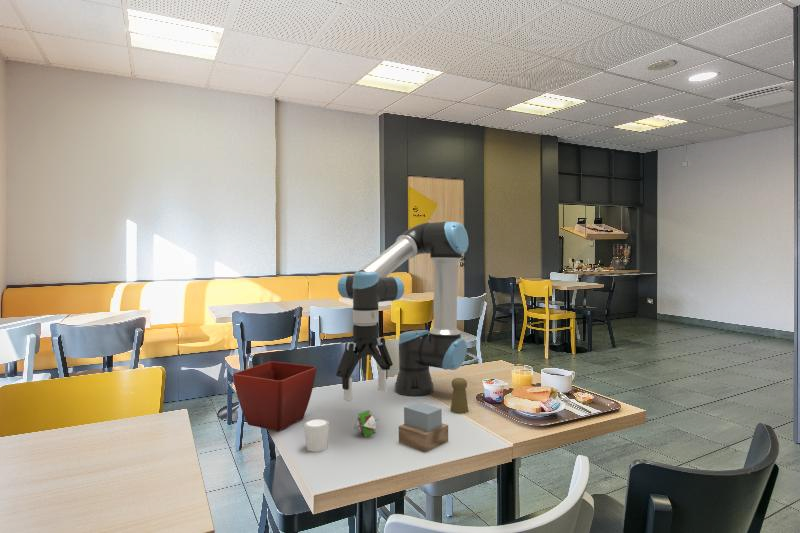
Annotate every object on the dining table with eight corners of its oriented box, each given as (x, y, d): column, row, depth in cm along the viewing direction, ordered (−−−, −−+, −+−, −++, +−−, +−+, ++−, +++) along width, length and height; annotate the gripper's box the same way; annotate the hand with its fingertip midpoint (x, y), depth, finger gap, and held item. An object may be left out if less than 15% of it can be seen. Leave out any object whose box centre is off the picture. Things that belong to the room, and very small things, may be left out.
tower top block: (417, 418, 142) (417, 401, 142) (441, 426, 136) (441, 408, 136) (404, 424, 138) (403, 407, 138) (428, 432, 132) (427, 414, 132)
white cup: (302, 444, 136) (302, 420, 135) (326, 441, 138) (326, 417, 138) (306, 454, 129) (306, 428, 129) (331, 450, 132) (331, 425, 131)
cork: (471, 412, 161) (471, 379, 161) (455, 414, 159) (455, 381, 158) (462, 406, 167) (462, 375, 166) (447, 409, 165) (447, 377, 164)
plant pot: (318, 416, 158) (318, 366, 158) (281, 437, 141) (280, 380, 140) (272, 408, 166) (271, 360, 166) (231, 427, 149) (230, 374, 148)
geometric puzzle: (346, 425, 144) (357, 408, 141) (363, 419, 149) (373, 402, 146) (359, 445, 140) (370, 427, 137) (376, 438, 146) (387, 421, 142)
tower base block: (421, 433, 144) (421, 416, 144) (448, 442, 137) (448, 425, 137) (398, 443, 137) (398, 426, 137) (425, 453, 130) (425, 435, 130)
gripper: (340, 330, 130) (340, 407, 131) (403, 320, 148) (403, 389, 149) (323, 327, 135) (324, 401, 136) (386, 318, 153) (386, 384, 154)
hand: (365, 395), depth 142 cm, fingers open, 13 cm apart
